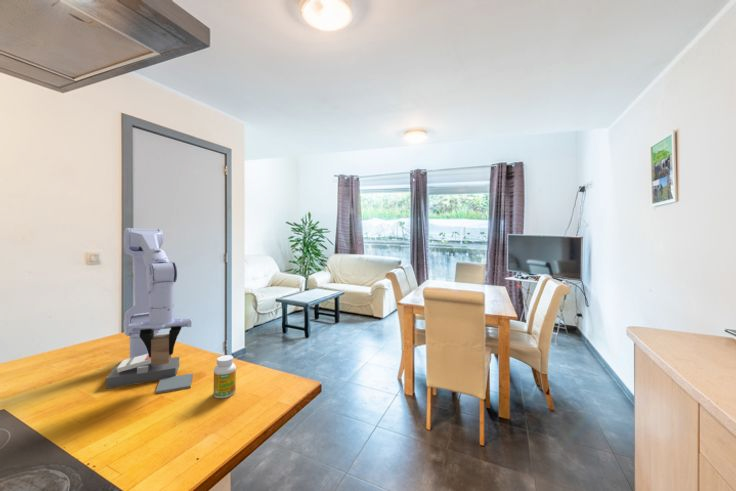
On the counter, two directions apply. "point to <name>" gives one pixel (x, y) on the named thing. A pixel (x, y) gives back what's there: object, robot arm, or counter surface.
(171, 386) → the mat
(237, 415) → the counter surface
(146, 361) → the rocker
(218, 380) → the supplement bottle
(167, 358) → the brown rectangular block
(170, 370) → the switch housing
